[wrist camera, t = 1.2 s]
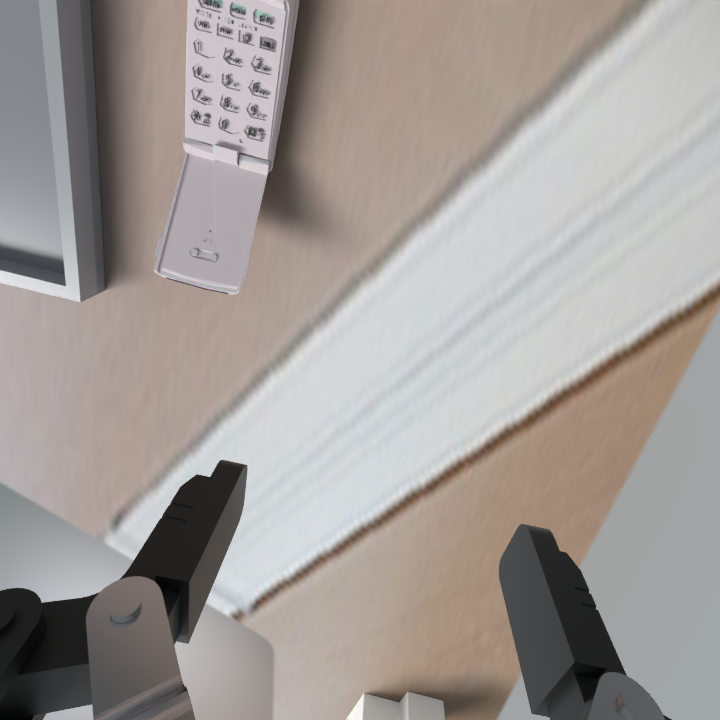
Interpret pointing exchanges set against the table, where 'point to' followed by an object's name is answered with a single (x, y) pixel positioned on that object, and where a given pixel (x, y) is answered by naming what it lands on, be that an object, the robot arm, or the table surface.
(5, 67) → the phone dock
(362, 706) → the corner bracket
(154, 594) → the robot arm
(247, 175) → the mobile phone
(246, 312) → the table surface
